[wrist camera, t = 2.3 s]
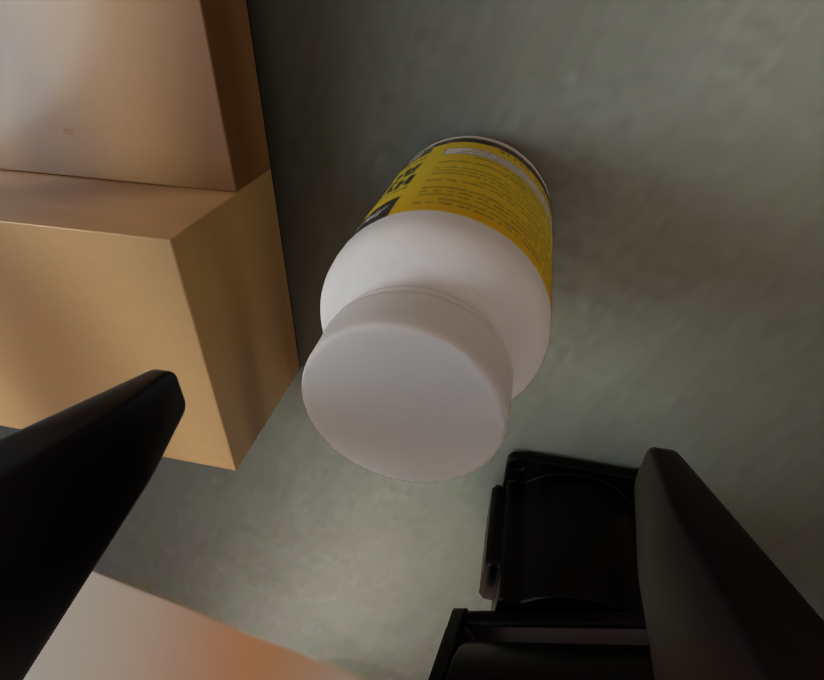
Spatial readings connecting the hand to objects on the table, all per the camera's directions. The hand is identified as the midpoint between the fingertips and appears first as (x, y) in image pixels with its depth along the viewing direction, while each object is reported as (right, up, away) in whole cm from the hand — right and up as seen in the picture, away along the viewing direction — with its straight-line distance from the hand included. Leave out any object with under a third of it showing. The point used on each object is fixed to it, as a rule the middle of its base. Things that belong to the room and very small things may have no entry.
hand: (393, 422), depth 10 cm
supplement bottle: (+2, +6, +8) cm, 10 cm away
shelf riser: (-10, +8, +10) cm, 16 cm away
